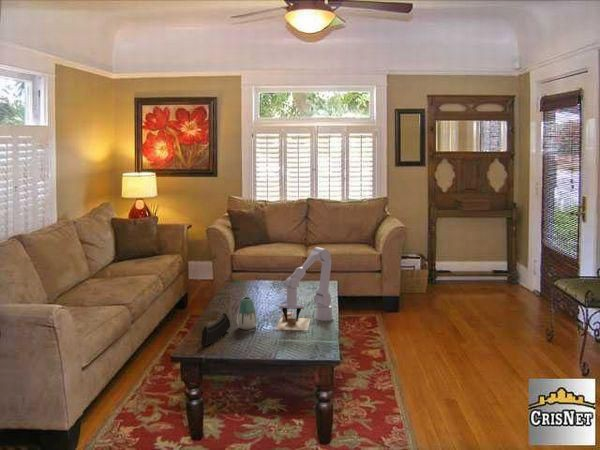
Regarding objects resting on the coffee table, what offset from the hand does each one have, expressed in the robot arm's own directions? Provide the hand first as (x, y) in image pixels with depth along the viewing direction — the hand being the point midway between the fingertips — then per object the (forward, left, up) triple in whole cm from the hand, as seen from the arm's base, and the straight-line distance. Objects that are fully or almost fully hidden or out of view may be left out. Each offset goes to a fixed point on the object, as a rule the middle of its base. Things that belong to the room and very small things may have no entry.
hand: (291, 320), depth 354 cm
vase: (+25, +7, -3) cm, 26 cm away
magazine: (+38, +27, -3) cm, 47 cm away
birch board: (-1, -1, -3) cm, 3 cm away
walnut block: (0, 0, -2) cm, 2 cm away
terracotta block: (+4, -9, -2) cm, 10 cm away
